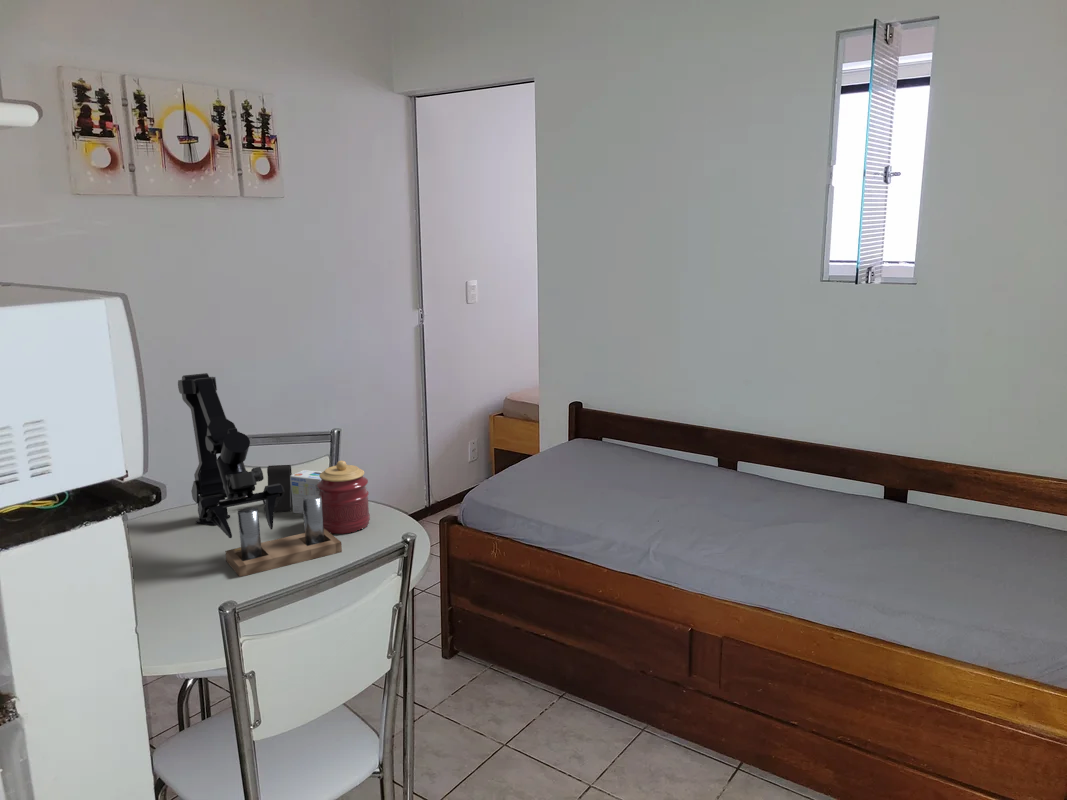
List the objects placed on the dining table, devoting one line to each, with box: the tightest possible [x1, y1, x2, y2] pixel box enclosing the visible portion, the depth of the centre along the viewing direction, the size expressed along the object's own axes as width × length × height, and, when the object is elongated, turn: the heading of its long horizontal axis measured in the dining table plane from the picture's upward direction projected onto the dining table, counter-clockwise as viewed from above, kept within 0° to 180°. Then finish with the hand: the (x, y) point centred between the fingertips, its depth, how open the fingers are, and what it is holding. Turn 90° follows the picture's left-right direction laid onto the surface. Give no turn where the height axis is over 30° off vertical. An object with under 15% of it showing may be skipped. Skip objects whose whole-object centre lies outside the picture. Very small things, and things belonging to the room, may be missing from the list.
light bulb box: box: [290, 469, 323, 515], centre depth 217 cm, size 11×7×11 cm, turn 71°
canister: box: [317, 460, 371, 535], centre depth 206 cm, size 13×13×18 cm
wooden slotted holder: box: [225, 529, 343, 578], centre depth 188 cm, size 24×11×3 cm, turn 126°
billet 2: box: [303, 495, 324, 546], centre depth 191 cm, size 4×4×13 cm
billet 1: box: [237, 506, 262, 561], centre depth 183 cm, size 4×4×13 cm
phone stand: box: [266, 464, 293, 513], centre depth 221 cm, size 9×6×12 cm, turn 7°
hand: (251, 532), depth 181 cm, fingers open, 9 cm apart
